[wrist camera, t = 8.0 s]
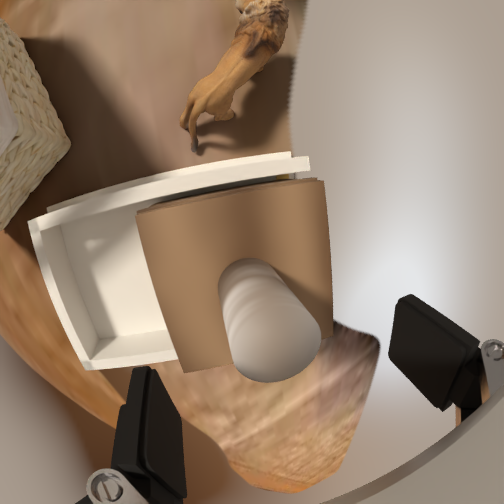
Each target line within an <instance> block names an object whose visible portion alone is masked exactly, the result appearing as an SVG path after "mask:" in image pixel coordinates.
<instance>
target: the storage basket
mask: <svg viewBox="0 0 504 504" xmlns="http://www.w3.org/2000/svg"><path fill="white" fill-rule="evenodd" d="M70 146H71V142H70V140H69V138H68V137H67V135H66V134H65V130H64V129H63V124H62V122H61V121H60V119H59V118H58V116H57V113H56V110H55V109H54V107H53V106H52V104H51V102H50V100H49V95H48V92H47V90H46V88H45V87H44V86H43V85H42V82H41V78H40V76H39V74H38V72H37V71H36V70H35V65H34V63H33V61H32V60H31V59H30V58H29V55H28V53H27V51H26V50H25V46H24V42H23V41H22V40H21V39H20V38H19V36H18V35H17V34H16V33H14V31H12V30H10V27H9V25H8V24H7V23H6V22H5V21H4V20H3V19H1V18H0V231H2V230H3V229H4V228H5V227H6V226H7V225H8V223H9V221H10V220H11V218H12V217H13V216H14V215H15V214H16V212H17V211H18V209H19V207H20V206H21V205H22V204H23V203H24V202H25V201H26V199H27V198H28V196H29V194H30V192H33V191H34V190H35V188H36V187H37V186H38V185H39V184H40V182H41V181H42V179H43V177H44V176H45V175H46V174H48V173H49V172H50V171H51V170H52V169H53V167H54V166H55V164H56V163H57V162H58V161H59V160H60V159H61V158H62V157H63V156H64V155H65V154H66V153H67V152H68V150H69V149H70Z"/></svg>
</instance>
